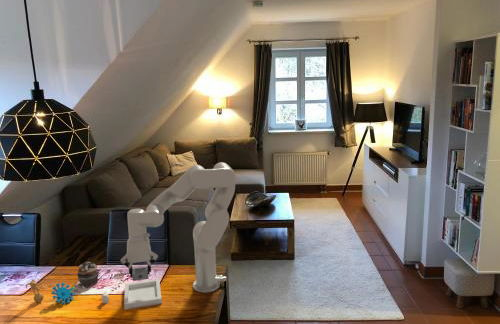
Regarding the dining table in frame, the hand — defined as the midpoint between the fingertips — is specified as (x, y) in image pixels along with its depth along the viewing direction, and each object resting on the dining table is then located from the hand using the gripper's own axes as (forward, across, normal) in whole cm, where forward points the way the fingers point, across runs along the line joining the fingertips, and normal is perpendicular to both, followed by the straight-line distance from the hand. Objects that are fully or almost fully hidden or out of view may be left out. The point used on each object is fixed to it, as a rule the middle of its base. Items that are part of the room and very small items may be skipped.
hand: (140, 274), depth 179 cm
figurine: (+12, +44, -8) cm, 47 cm away
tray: (+11, 0, 0) cm, 11 cm away
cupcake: (+12, +24, -20) cm, 34 cm away
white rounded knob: (+11, +16, 0) cm, 19 cm away
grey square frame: (+1, 0, 0) cm, 1 cm away
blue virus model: (+12, +33, -7) cm, 36 cm away
